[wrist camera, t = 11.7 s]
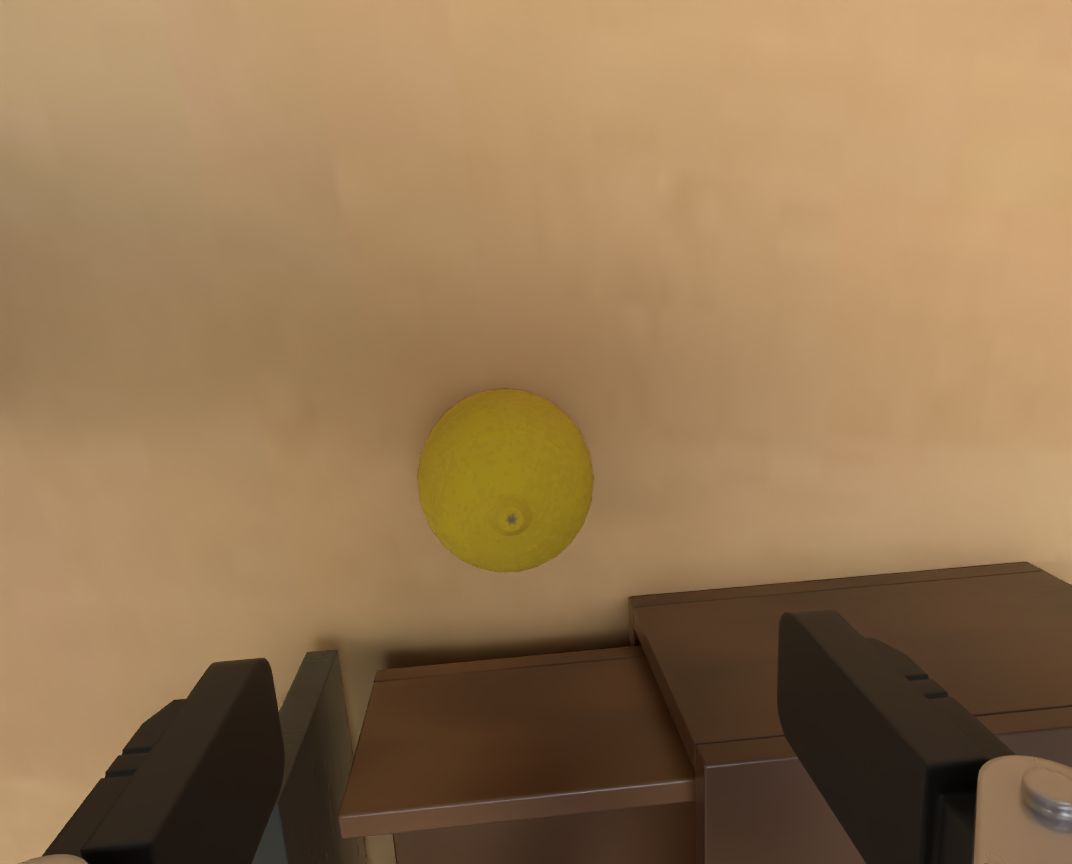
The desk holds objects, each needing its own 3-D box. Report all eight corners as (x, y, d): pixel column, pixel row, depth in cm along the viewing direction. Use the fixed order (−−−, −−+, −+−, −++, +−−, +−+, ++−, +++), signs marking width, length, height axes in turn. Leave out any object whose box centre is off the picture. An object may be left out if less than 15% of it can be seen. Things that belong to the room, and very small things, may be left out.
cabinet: (637, 898, 31) (705, 1174, 22) (628, 596, 28) (704, 765, 18) (994, 857, 32) (1209, 1104, 23) (1027, 561, 29) (1298, 704, 19)
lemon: (554, 529, 27) (583, 633, 19) (413, 497, 26) (383, 593, 18) (592, 393, 26) (640, 445, 18) (447, 356, 25) (430, 393, 17)
